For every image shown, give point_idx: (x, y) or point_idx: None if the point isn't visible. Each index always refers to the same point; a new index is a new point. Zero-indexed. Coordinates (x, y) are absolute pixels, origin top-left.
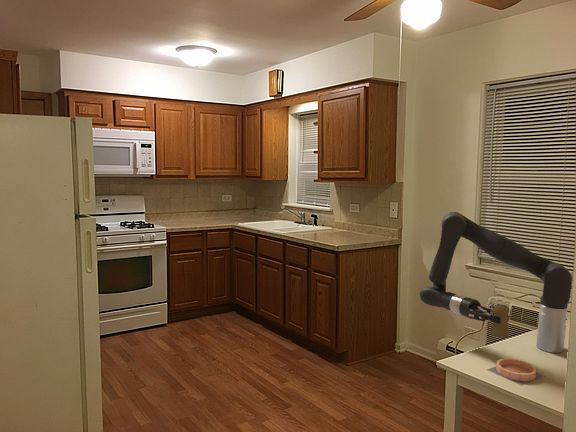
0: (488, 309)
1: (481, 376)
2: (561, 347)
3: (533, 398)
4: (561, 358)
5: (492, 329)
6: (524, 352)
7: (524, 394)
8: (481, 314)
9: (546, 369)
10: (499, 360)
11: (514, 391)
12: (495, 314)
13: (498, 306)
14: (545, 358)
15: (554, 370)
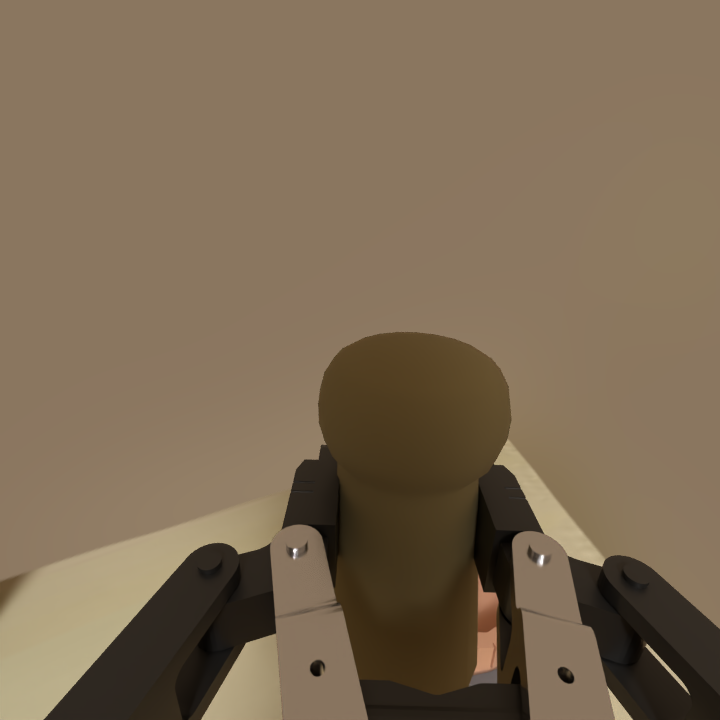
0: (363, 701)
1: (659, 657)
2: None
3: (523, 465)
4: (53, 566)
5: (473, 634)
6: None
7: (536, 485)
8: (687, 602)
9: (260, 541)
10: (481, 640)
11: (561, 507)
12: (475, 482)
13: (480, 357)
14: (104, 607)
15: (244, 522)
